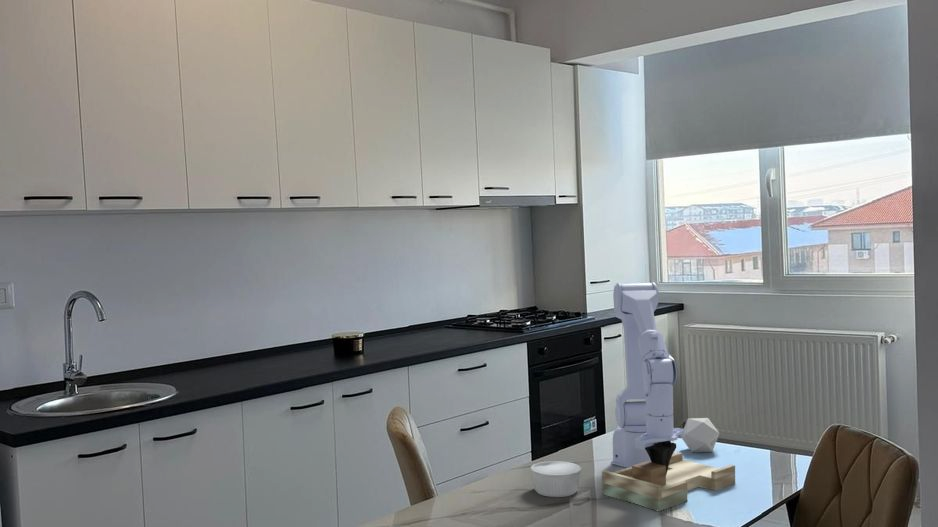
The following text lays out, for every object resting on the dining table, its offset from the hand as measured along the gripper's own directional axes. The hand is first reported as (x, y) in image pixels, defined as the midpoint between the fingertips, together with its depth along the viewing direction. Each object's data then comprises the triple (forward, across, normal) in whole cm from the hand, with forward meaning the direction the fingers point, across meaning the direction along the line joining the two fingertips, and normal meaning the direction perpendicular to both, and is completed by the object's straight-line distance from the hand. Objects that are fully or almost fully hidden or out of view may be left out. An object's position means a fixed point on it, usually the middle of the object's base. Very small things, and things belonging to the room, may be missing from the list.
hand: (660, 476), depth 177 cm
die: (+4, +34, +14) cm, 37 cm away
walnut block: (+1, -4, 0) cm, 4 cm away
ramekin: (+4, -16, +16) cm, 23 cm away
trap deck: (+3, +3, 0) cm, 5 cm away
